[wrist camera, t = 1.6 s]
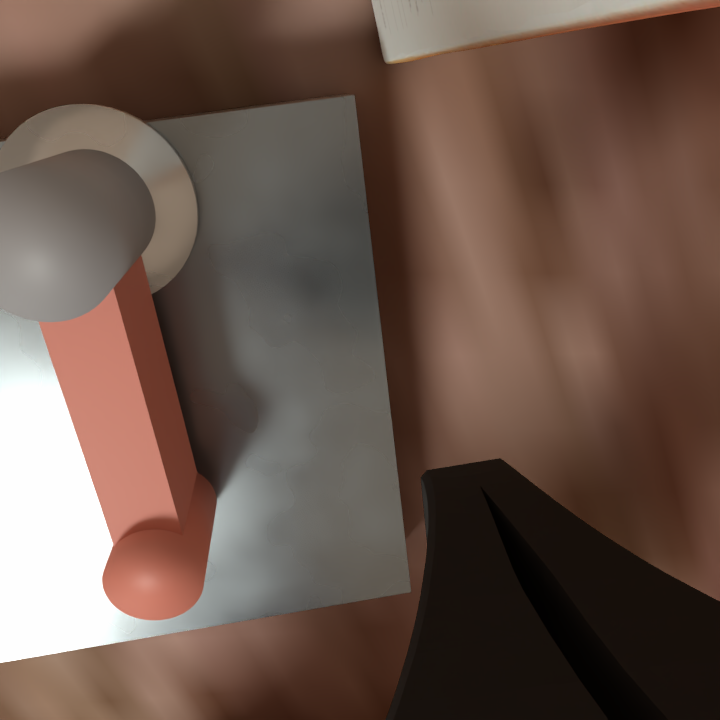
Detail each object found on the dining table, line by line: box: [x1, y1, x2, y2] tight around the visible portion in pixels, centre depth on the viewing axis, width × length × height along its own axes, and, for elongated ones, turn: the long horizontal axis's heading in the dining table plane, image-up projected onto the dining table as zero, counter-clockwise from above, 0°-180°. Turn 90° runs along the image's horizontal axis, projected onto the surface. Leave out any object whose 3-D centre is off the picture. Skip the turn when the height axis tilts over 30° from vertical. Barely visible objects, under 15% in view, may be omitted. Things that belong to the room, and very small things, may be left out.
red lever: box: [0, 149, 217, 620], centre depth 13 cm, size 9×2×3 cm, turn 7°
